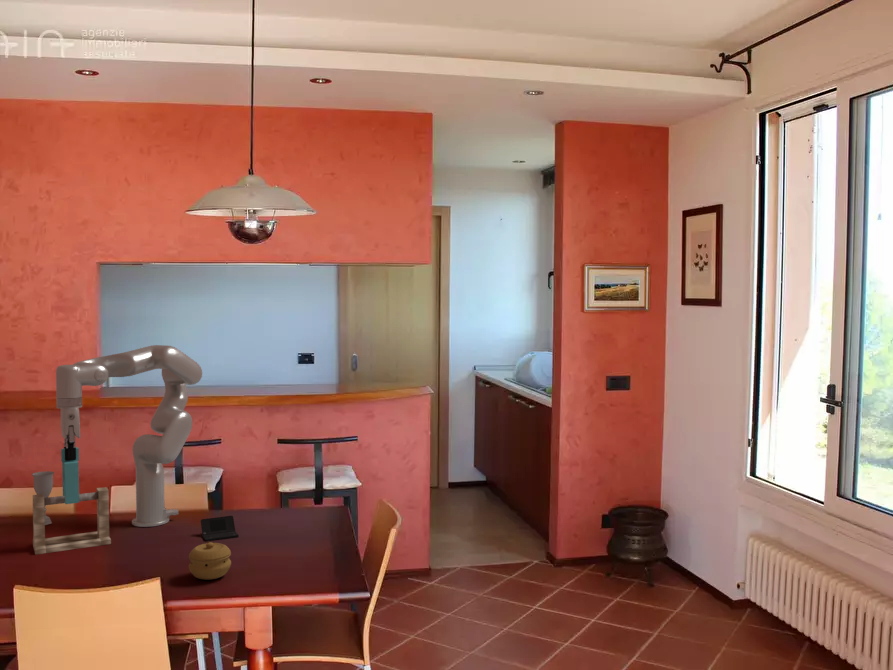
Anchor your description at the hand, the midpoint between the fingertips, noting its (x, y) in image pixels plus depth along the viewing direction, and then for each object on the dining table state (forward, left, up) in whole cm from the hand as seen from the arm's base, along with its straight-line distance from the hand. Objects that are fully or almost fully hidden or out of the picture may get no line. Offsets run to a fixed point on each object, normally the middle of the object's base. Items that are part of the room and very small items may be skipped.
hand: (70, 459), depth 258 cm
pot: (-31, +54, -28) cm, 68 cm away
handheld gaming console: (-44, +15, -29) cm, 55 cm away
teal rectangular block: (0, 0, -14) cm, 14 cm away
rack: (0, 0, -28) cm, 28 cm away
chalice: (+6, -32, -28) cm, 43 cm away
